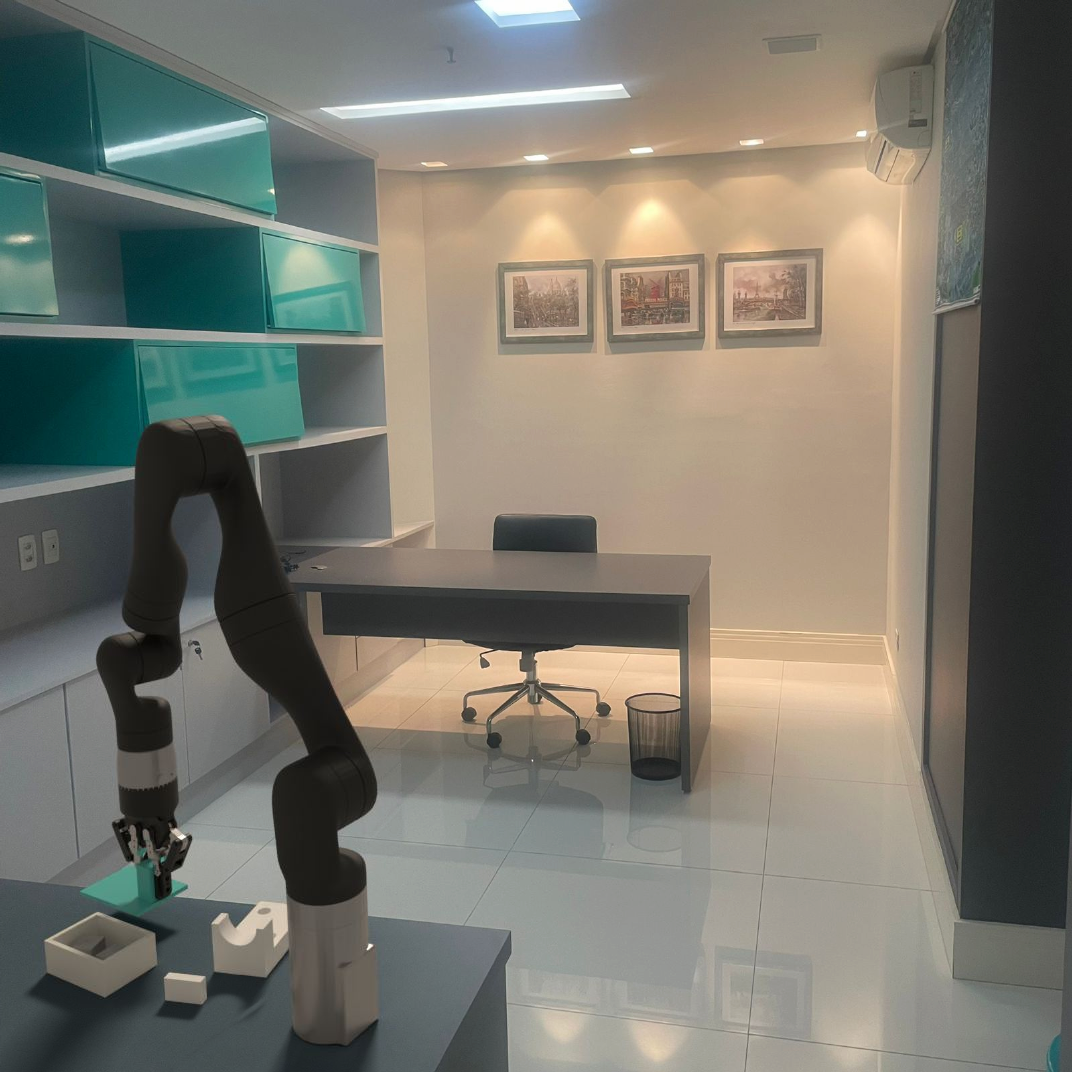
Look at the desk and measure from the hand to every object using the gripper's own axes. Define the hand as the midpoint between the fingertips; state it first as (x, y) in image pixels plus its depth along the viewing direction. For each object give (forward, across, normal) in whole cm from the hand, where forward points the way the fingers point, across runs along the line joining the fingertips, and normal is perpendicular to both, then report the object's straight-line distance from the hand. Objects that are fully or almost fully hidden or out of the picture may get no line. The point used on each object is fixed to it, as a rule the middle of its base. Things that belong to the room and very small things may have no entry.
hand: (155, 894), depth 144 cm
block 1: (+5, +1, +10) cm, 12 cm away
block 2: (+5, -4, +10) cm, 12 cm away
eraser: (+6, -16, +10) cm, 20 cm away
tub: (+5, -2, +10) cm, 12 cm away
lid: (+1, +4, 0) cm, 4 cm away
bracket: (+6, -16, -3) cm, 18 cm away
